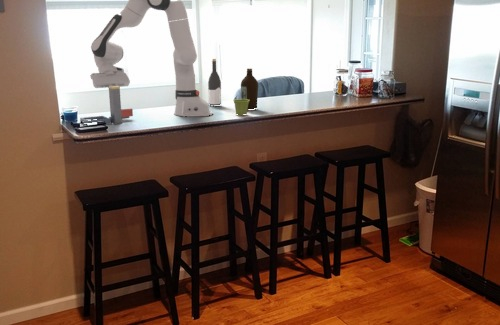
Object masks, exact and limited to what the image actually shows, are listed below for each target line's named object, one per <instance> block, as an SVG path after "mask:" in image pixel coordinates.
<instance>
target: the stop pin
mask: <svg viewBox="0 0 500 325" xmlns="http://www.w3.org/2000/svg"><path fill="white" fill-rule="evenodd" d="M108 96H109V106H110V107H109V110H110V117H111V125H119V124H122V123H123V119H122V116H121V109H122V105H121V104H122V102H121V88H120V87H118V86H111V87H109V88H108Z"/></svg>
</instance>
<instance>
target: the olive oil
mask: <svg viewBox="0 0 500 325" xmlns="http://www.w3.org/2000/svg"><path fill="white" fill-rule="evenodd" d="M258 91H259V83H258V79H256V77H254V75H253V68H246V75H245V77H244V78H243V79H241V83H240V97H241V98H240V99H247V100H250V101H249V104H248V109H254V108H257V109H258V98H259V97H258V96H259V95H258V94H259V92H258Z"/></svg>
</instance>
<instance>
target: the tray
mask: <svg viewBox="0 0 500 325" xmlns="http://www.w3.org/2000/svg"><path fill="white" fill-rule="evenodd" d="M86 119H97V120H91V121H88V120H86ZM80 120H81V121H84V122H86V123H92V122H98V121H105V122H106V124H105V125H108V124H110V125H112V123H111V119H110V118H109V117H106V116H104V115H99V116H88V117H80ZM81 121H80V122H81Z"/></svg>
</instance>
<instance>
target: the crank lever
mask: <svg viewBox="0 0 500 325" xmlns="http://www.w3.org/2000/svg"><path fill="white" fill-rule="evenodd" d="M133 113H134V112H133V108H123V109H122V108H121V116H122V120H125V119H130V117H133V116H134V114H133ZM108 118H110V119H111V116H109V117H108Z"/></svg>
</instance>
